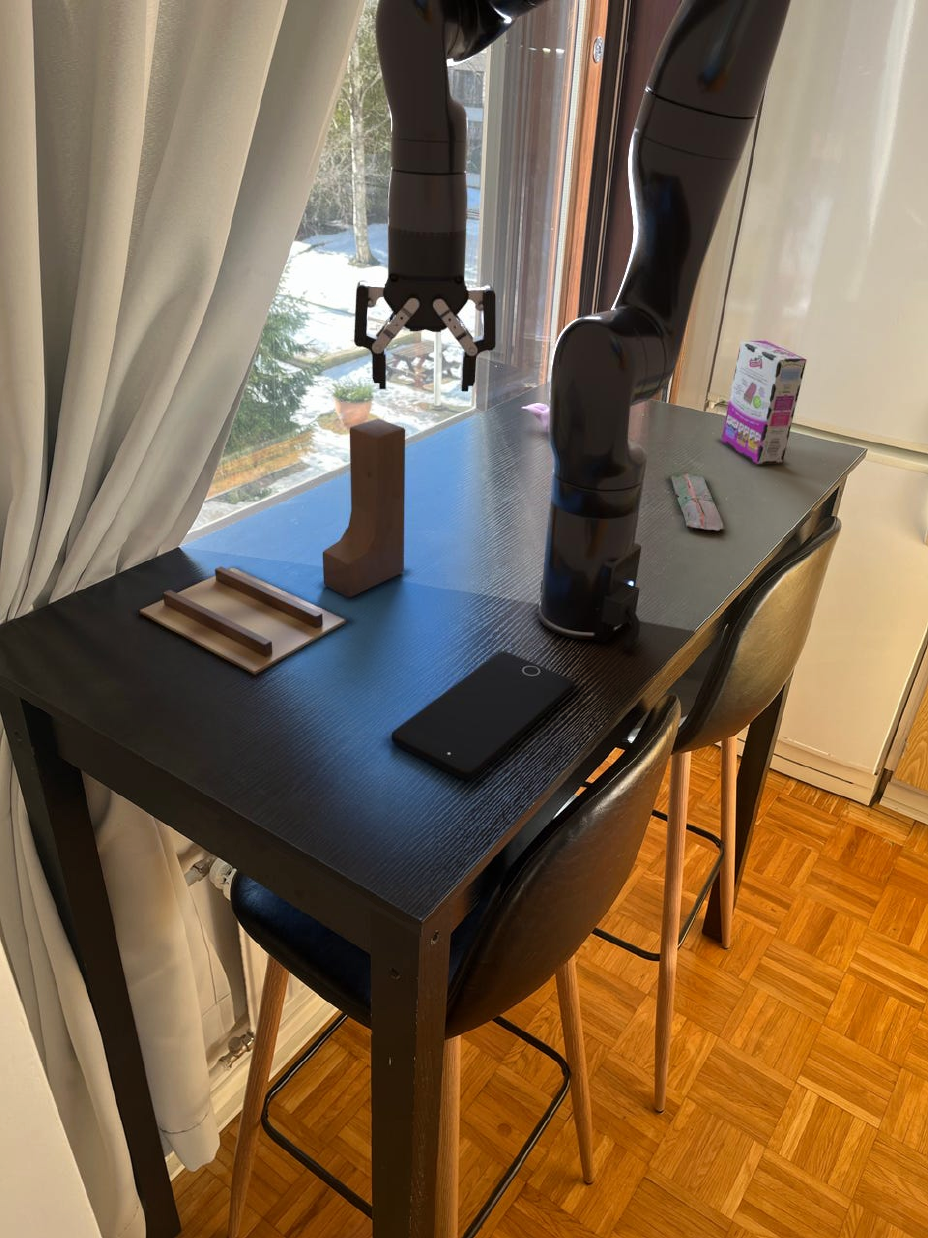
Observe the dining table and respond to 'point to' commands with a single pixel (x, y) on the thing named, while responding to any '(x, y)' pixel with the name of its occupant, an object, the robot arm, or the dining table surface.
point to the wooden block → (371, 512)
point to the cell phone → (482, 714)
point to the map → (696, 502)
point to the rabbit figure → (540, 413)
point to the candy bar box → (763, 401)
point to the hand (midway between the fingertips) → (423, 388)
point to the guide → (242, 619)
